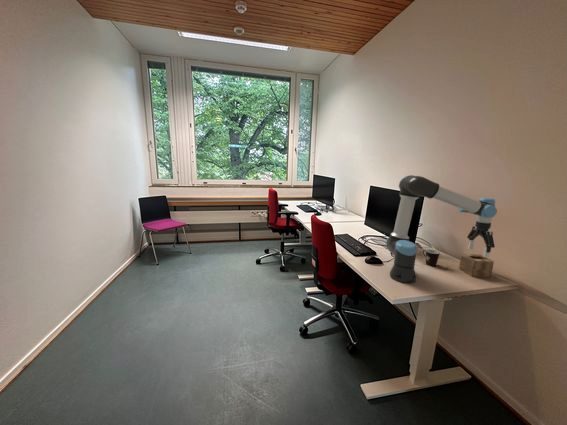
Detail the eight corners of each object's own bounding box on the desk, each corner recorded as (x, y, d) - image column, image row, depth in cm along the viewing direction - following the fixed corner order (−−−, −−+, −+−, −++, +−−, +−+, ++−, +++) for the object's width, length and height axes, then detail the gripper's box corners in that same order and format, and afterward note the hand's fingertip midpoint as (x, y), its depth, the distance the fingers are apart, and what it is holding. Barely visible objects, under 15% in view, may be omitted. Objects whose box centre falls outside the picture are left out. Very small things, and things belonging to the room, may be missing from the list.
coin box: (471, 276, 152) (474, 260, 150) (459, 268, 163) (461, 253, 161) (490, 277, 151) (493, 261, 149) (476, 269, 163) (479, 254, 161)
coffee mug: (440, 267, 165) (442, 254, 163) (426, 266, 166) (428, 253, 164) (433, 261, 176) (434, 248, 174) (420, 260, 178) (422, 247, 176)
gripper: (506, 226, 138) (499, 260, 142) (475, 217, 162) (470, 246, 166) (493, 226, 138) (486, 260, 142) (464, 217, 163) (459, 246, 167)
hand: (477, 252), depth 154 cm, fingers open, 13 cm apart
